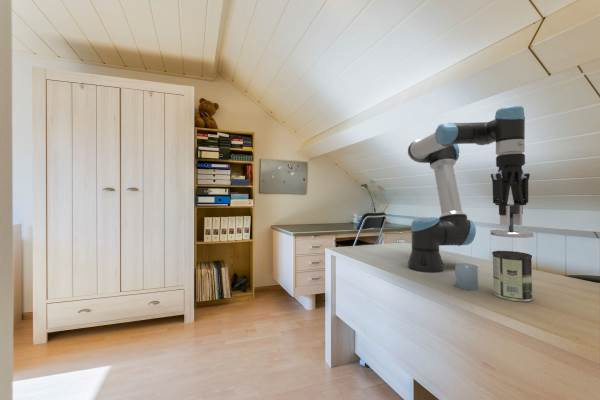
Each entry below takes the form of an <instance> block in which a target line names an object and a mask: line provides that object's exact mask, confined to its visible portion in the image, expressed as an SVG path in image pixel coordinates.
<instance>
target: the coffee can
mask: <svg viewBox="0 0 600 400" xmlns="http://www.w3.org/2000/svg"><path fill="white" fill-rule="evenodd" d="M491 254H492V275H493V276H492V278H493V279H492V280H493V282H492V284H493V285H492V286H493V291H492V293H493V295H495V297H498V298H500V299H501V298H502V299H503V300H508V301H513V302H520V303H521V302H522V303H523V302H531V301H533V282H532V281H533V279H532V278H533V277H532V276H533V275H532V273H533V272H532V271H533V270H532V267H533V266H532V264H533V263H532V257H533V255H532V254H530V253H527V252H522V251H521V252H520V251H514V250H513V251H512V250H495V251H491Z"/></svg>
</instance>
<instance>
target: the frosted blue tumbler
mask: <svg viewBox="0 0 600 400" xmlns="http://www.w3.org/2000/svg"><path fill="white" fill-rule="evenodd" d="M478 269H479V268H478V265H476V264H471V263H466V262H459V263H455V264H454V274H455V277H454V279H455V280H454V283H455V287H456V288H457V289H459V290H464V291H470V292H471V291H474V292H475V291H478V290H479V271H478Z"/></svg>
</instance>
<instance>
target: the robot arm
mask: <svg viewBox="0 0 600 400" xmlns="http://www.w3.org/2000/svg"><path fill="white" fill-rule="evenodd" d="M525 122H526V117H525V109H524V107H523V106H521V105H518V104H517V105H508V106H503V107H500V108H498V109H497V110H496V112H495V115H494V119H493V120H490V121H488V122H487V121H486V122H485V121H484V122H448V123H441V124H438V126H437V128H436V129H435V131H434V133H431V134H430V135H427V136H425V137H424V138H422V139H421V138H419V139H415V140H414V141H412V142H411V143H410V144H409V145H408V147H407V154H408V156H409V158H410V159H411V160H412V161H414V162H416V163H421V164H422V163H423V164H429V166H430V169H432V170H434V171H433V172H434V177H435V182H436V188H437V189H436V190H437V194H438V199H439V207H440V211H441V215H440V216H439V217H436V216H435V217H432V216H431V217H422V218H417V219H414V220H413V221H412V222H411V228H410V231H411V252H410V255H409V258H408V261H407V267H408V268H409V269H411V270H413V271H417V272H423V273H425V272H426V273H437V272H442V271H444V270H445V264H444V263H443V260H442V256H441V253H440V246H458V247H461V246H469V245H471V244H472V243H473V242H474V241H475V238H476V234H477V229H476V228H477V227H476V224H475V223H474V221H473V220H472V219H468V216H467V214H466V213H464V212H463V209H462V204H461V199H460V195H459V188H458V185H457V184H458V183H457V177H456V174H455V168H454V165H456V163H457V161H458V160H459V158H460V147H459V145H460V144H461V145H463V144H467V145H468V144H472V145H473V144H475V145H477V146H486V145H487V146H488V145H490V144H493V143H495V155H497V156H496V157H495V166H496V167H497V168H498V170H497V172H495V173H491V174H490V178H491V181H492V184H491V185H492V203H493V204H495V206H498V215H499V226H503V227H505V226H507V227H509V226H510V206H506V205H507V204H509V203H508V202H509V198H510V197H509V196H510V191H511V195H512V196H511V197H512V201H513V204H519V214H513V226H515V225H516V226H523V214H524V213H523V210H524V209H523V206H527V204H528V203H529V180H530V176H531V174H530V173H525V172H524V170H523V166H525V165H526V154H524V153H525V152H526V151H525V150H526V149H525V135H526V133H525V132H526V129H525V125H526V123H525Z"/></svg>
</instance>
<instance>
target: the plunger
mask: <svg viewBox="0 0 600 400" xmlns="http://www.w3.org/2000/svg"><path fill="white" fill-rule="evenodd" d="M506 206H510V226H508V229H491V230H490V235H491V236H497V237H504V238H519V239H521V238H522V239H523V238H524V239H525V238H533V237H534V232H533V231H528V230H520V229H519V230H518V229H517V230H516V229H514V225H513V214H519V204H514V203H513V204H512V203H511V204H510V203H507V205H506Z"/></svg>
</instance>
